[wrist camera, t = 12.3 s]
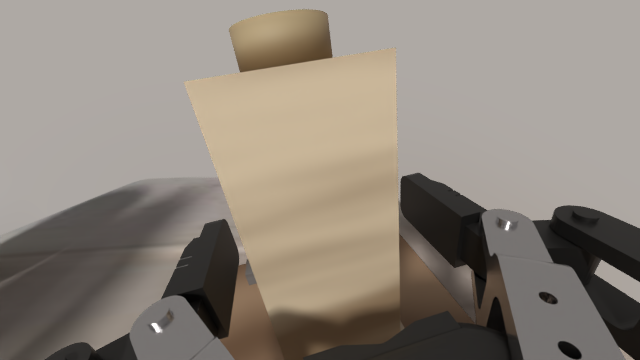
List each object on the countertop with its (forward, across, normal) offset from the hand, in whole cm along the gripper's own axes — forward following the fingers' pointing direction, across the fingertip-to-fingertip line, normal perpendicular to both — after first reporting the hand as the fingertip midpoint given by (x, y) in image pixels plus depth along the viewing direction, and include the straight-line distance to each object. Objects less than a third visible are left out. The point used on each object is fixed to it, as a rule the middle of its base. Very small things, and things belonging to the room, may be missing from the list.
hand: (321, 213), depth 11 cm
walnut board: (-9, 0, -9) cm, 12 cm away
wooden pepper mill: (-2, 0, -7) cm, 7 cm away
